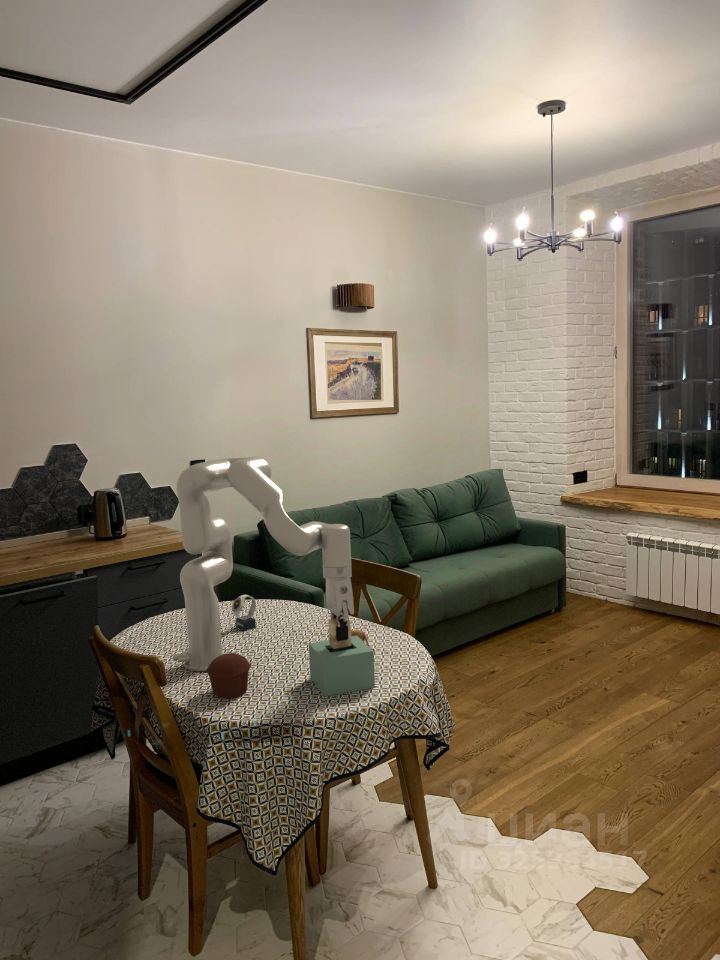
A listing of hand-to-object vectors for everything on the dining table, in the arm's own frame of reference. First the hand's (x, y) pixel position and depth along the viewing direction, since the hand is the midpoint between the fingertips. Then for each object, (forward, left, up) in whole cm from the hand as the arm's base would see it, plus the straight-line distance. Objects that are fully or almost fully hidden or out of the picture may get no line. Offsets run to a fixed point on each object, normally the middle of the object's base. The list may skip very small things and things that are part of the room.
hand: (340, 637), depth 194 cm
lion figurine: (+10, +21, -13) cm, 27 cm away
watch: (-15, +57, -13) cm, 60 cm away
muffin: (-29, +7, -13) cm, 33 cm away
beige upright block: (0, 0, -2) cm, 2 cm away
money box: (0, 0, -13) cm, 13 cm away
